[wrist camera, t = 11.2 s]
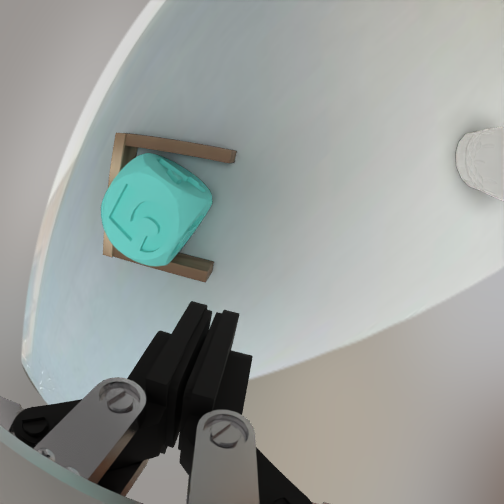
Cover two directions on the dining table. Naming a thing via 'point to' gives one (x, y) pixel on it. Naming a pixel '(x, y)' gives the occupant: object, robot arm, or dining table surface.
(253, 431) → the robot arm
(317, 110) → the dining table surface
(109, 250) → the corral
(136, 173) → the decorative dice
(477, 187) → the white cup
